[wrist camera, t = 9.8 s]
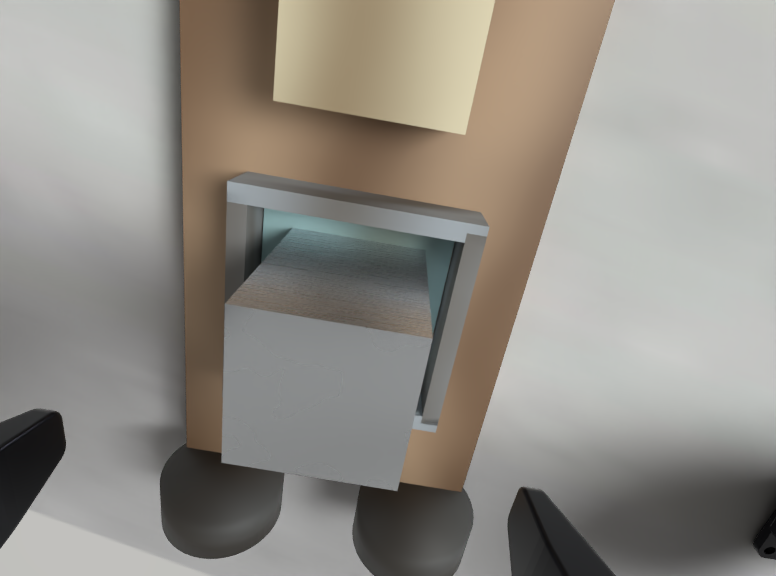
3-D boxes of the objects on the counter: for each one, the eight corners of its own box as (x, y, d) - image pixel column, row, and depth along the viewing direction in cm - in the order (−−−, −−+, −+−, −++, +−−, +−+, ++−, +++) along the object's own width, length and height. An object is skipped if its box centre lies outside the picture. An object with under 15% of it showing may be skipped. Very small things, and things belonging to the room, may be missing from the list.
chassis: (661, -163, 12) (803, -309, 8) (456, 498, 22) (468, 600, 17) (186, -256, 12) (54, -461, 7) (193, 455, 22) (137, 547, 17)
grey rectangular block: (425, 250, 15) (432, 338, 10) (402, 362, 17) (397, 491, 12) (292, 227, 15) (225, 303, 10) (283, 342, 17) (221, 462, 11)
